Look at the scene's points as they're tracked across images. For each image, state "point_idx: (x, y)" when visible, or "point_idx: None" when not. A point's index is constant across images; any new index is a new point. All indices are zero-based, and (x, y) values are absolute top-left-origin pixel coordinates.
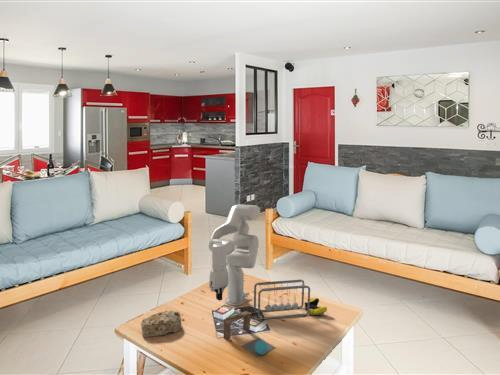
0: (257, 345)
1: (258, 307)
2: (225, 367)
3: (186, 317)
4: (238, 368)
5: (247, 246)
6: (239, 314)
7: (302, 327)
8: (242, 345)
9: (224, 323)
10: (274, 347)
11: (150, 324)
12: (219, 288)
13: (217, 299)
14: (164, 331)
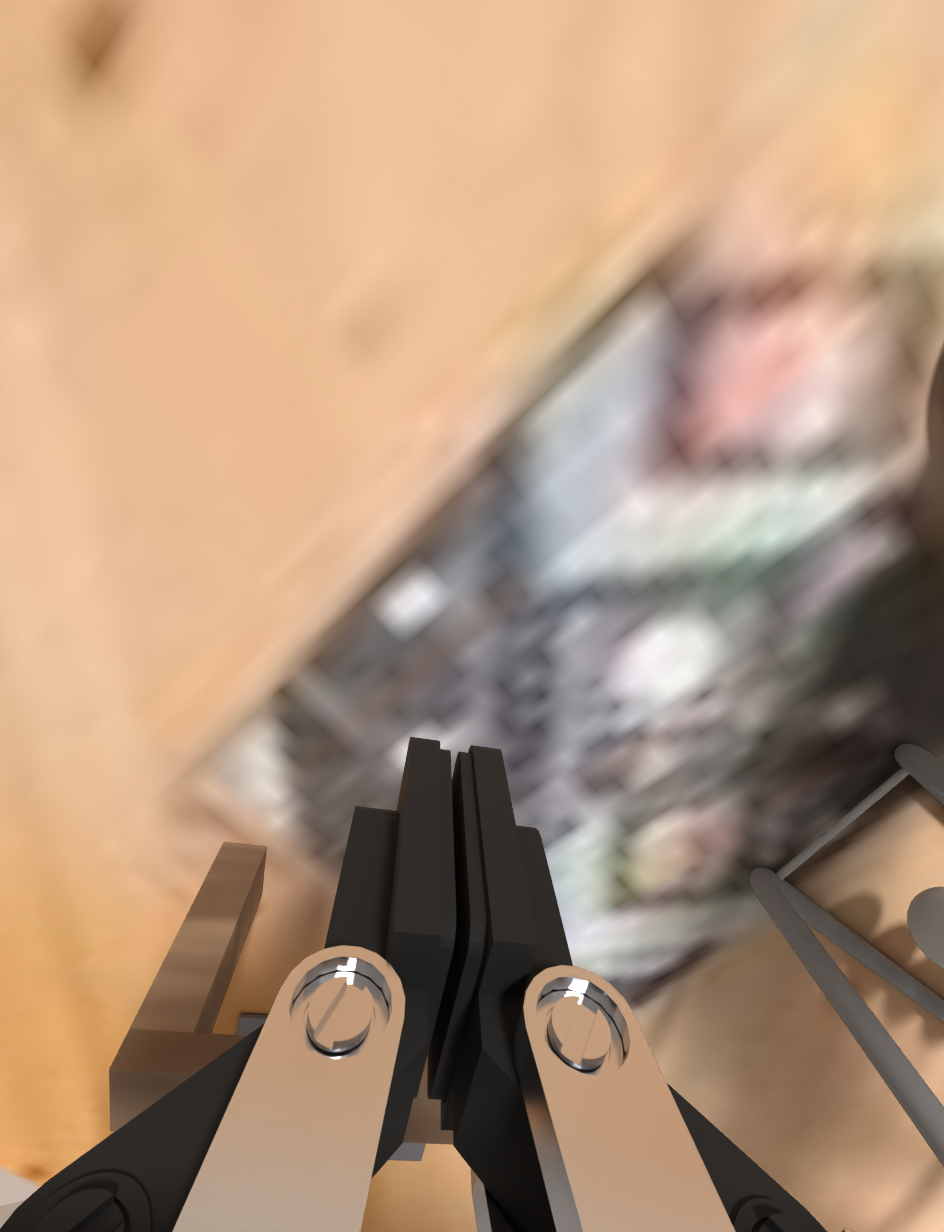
0: None
1: (834, 1006)
2: None
3: (196, 26)
4: (8, 1152)
5: None
6: (417, 1098)
7: (799, 1124)
8: (254, 1021)
9: (137, 1024)
10: (413, 1157)
11: None
12: (558, 1202)
13: (402, 779)
14: None
